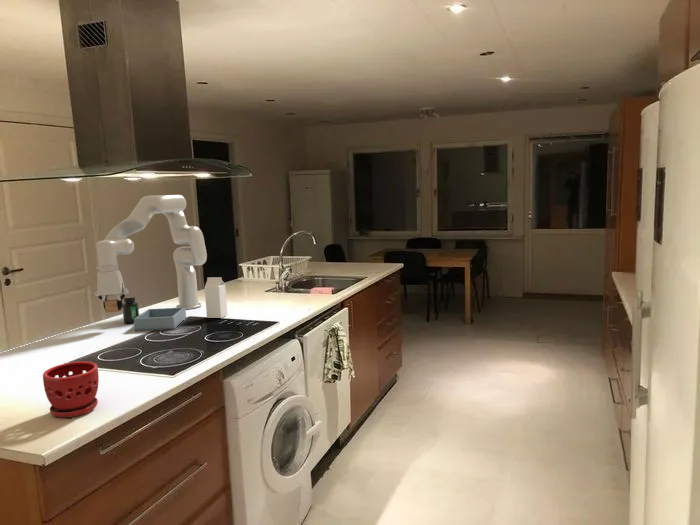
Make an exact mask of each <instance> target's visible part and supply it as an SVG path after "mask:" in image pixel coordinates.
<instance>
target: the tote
mask: <svg viewBox="0 0 700 525" xmlns="http://www.w3.org/2000/svg"><path fill="white" fill-rule="evenodd" d="M186 310H187V309H185V307H182V308H176V307H167V308H148V309H146V310H144V312H142V313H139V316H137V317H136V318H134V324H133V325H134V332H147V331H148V332H149V331H166V329H171V330H176V329H177V328H178V327H179V326H180V325H181V324H182V323H183V322H184V321H186V320H187V312H186ZM183 320H184V321H183ZM182 321H183V322H182ZM181 322H182V323H181ZM180 323H181V324H180ZM179 324H180V325H179ZM178 325H179V326H178ZM177 326H178V327H177ZM176 327H177V328H176ZM175 328H176V329H175Z"/></svg>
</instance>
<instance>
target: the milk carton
mask: <svg viewBox="0 0 700 525" xmlns="http://www.w3.org/2000/svg"><path fill="white" fill-rule="evenodd" d="M206 278H207V279H206V283H205V285H204V297H205V308H206V318H221V319H223V318H224V316H225V317H227V316H228V303H227V290H226V283H225V282H224V281H223V279H222V277H221V276H220V277H219V276H218V277H212V276H211V277H206ZM226 315H227V316H226ZM222 317H223V318H222Z"/></svg>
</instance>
